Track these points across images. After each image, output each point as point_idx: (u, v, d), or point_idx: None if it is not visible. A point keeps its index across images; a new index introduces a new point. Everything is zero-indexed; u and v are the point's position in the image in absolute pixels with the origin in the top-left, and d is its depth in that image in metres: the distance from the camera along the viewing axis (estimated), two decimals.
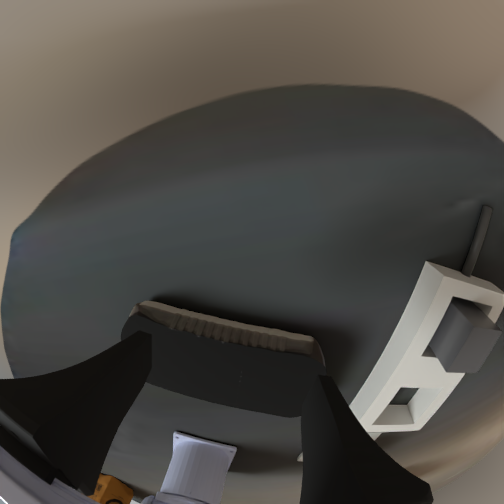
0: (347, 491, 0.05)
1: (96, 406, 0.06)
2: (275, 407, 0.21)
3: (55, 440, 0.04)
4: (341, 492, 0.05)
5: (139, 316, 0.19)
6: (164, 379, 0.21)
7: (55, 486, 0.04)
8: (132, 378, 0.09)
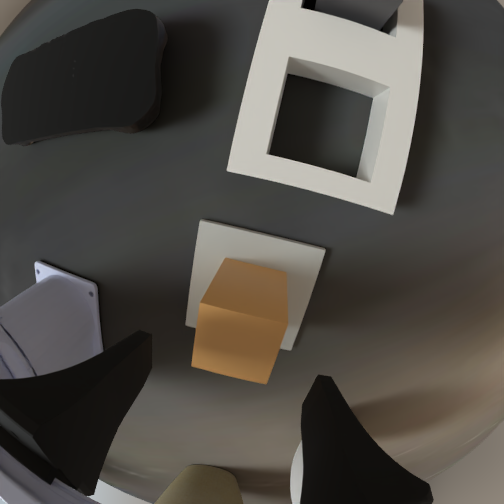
0: (347, 491, 0.05)
1: (96, 406, 0.06)
2: (108, 107, 0.13)
3: (55, 440, 0.04)
4: (341, 492, 0.05)
5: None
6: (19, 124, 0.14)
7: (55, 486, 0.04)
8: (132, 378, 0.09)
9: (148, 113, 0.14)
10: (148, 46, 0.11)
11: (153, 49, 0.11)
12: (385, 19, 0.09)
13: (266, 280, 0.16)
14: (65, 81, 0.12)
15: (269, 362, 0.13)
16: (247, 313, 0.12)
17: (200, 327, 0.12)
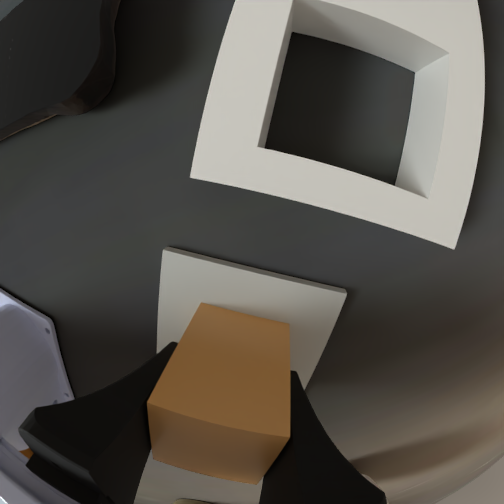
0: (291, 491, 0.05)
1: (140, 425, 0.06)
2: (44, 81, 0.07)
3: (107, 469, 0.04)
4: (287, 491, 0.05)
5: None
6: None
7: (56, 486, 0.04)
8: None
9: (93, 77, 0.08)
10: None
11: None
12: None
13: (259, 344, 0.10)
14: (2, 66, 0.07)
15: (260, 469, 0.07)
16: (223, 422, 0.06)
17: (155, 428, 0.07)
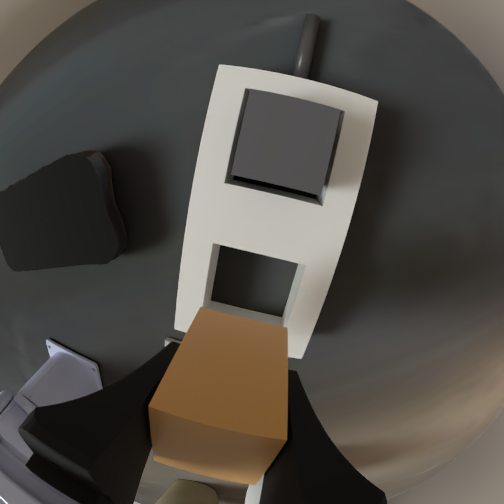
0: (291, 491, 0.05)
1: (140, 425, 0.06)
2: (85, 248, 0.17)
3: (107, 469, 0.04)
4: (287, 491, 0.05)
5: None
6: (19, 256, 0.19)
7: (56, 486, 0.04)
8: None
9: (118, 249, 0.18)
10: (95, 193, 0.16)
11: (100, 196, 0.16)
12: None
13: (257, 348, 0.10)
14: (42, 224, 0.17)
15: (258, 470, 0.07)
16: (221, 425, 0.07)
17: (156, 430, 0.07)
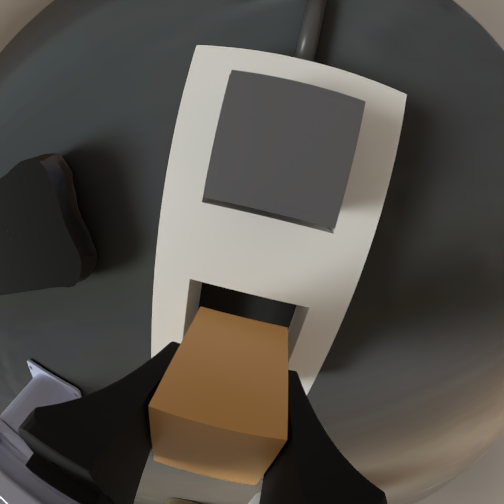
0: (291, 491, 0.05)
1: (140, 425, 0.06)
2: (49, 269, 0.13)
3: (107, 469, 0.04)
4: (287, 491, 0.05)
5: None
6: None
7: (55, 485, 0.04)
8: None
9: (84, 268, 0.14)
10: (51, 203, 0.12)
11: (56, 206, 0.12)
12: None
13: (257, 348, 0.10)
14: (7, 243, 0.13)
15: (258, 470, 0.07)
16: (222, 425, 0.06)
17: (156, 430, 0.07)
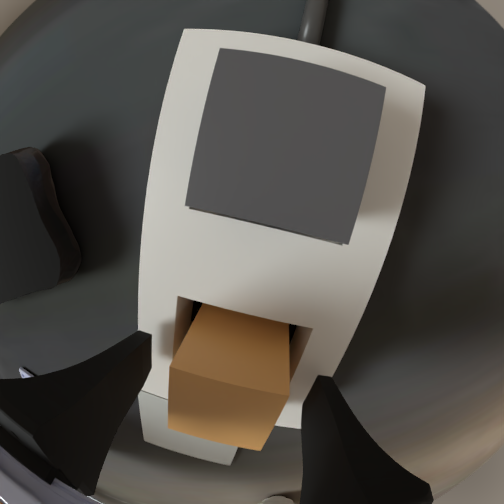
0: (347, 491, 0.05)
1: (96, 406, 0.06)
2: (30, 270, 0.12)
3: (55, 440, 0.04)
4: (341, 492, 0.05)
5: None
6: None
7: (55, 486, 0.04)
8: (132, 378, 0.09)
9: (65, 266, 0.12)
10: (26, 196, 0.10)
11: (31, 198, 0.10)
12: None
13: (262, 323, 0.12)
14: None
15: (264, 432, 0.09)
16: (233, 382, 0.08)
17: (173, 393, 0.09)
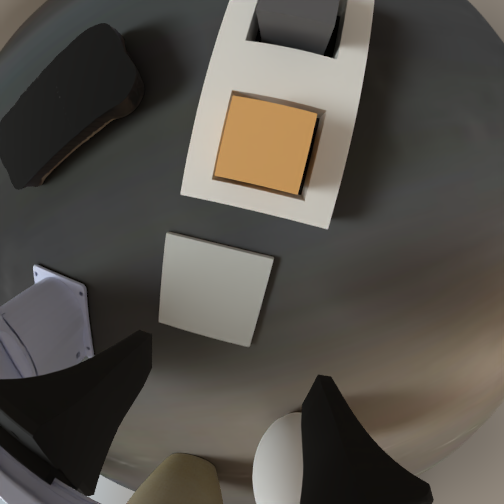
0: (347, 491, 0.05)
1: (96, 406, 0.06)
2: (100, 98, 0.15)
3: (55, 440, 0.04)
4: (341, 492, 0.05)
5: (2, 119, 0.15)
6: (26, 164, 0.17)
7: (55, 486, 0.04)
8: (132, 378, 0.09)
9: (135, 85, 0.15)
10: (112, 43, 0.13)
11: (117, 42, 0.13)
12: (325, 42, 0.12)
13: None
14: (54, 105, 0.15)
15: (300, 161, 0.12)
16: (277, 104, 0.11)
17: (230, 121, 0.12)
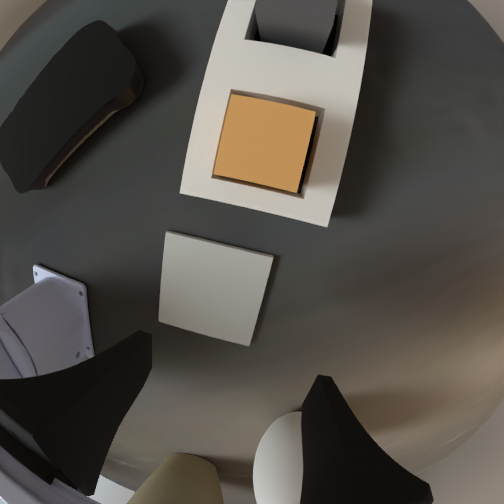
0: (347, 491, 0.05)
1: (96, 406, 0.06)
2: (101, 89, 0.14)
3: (55, 440, 0.04)
4: (341, 492, 0.05)
5: (1, 126, 0.15)
6: (28, 166, 0.17)
7: (55, 486, 0.04)
8: (132, 378, 0.09)
9: (135, 74, 0.15)
10: (109, 37, 0.13)
11: (114, 35, 0.13)
12: (324, 41, 0.12)
13: None
14: (54, 103, 0.15)
15: (299, 159, 0.12)
16: (276, 102, 0.11)
17: (229, 120, 0.12)
